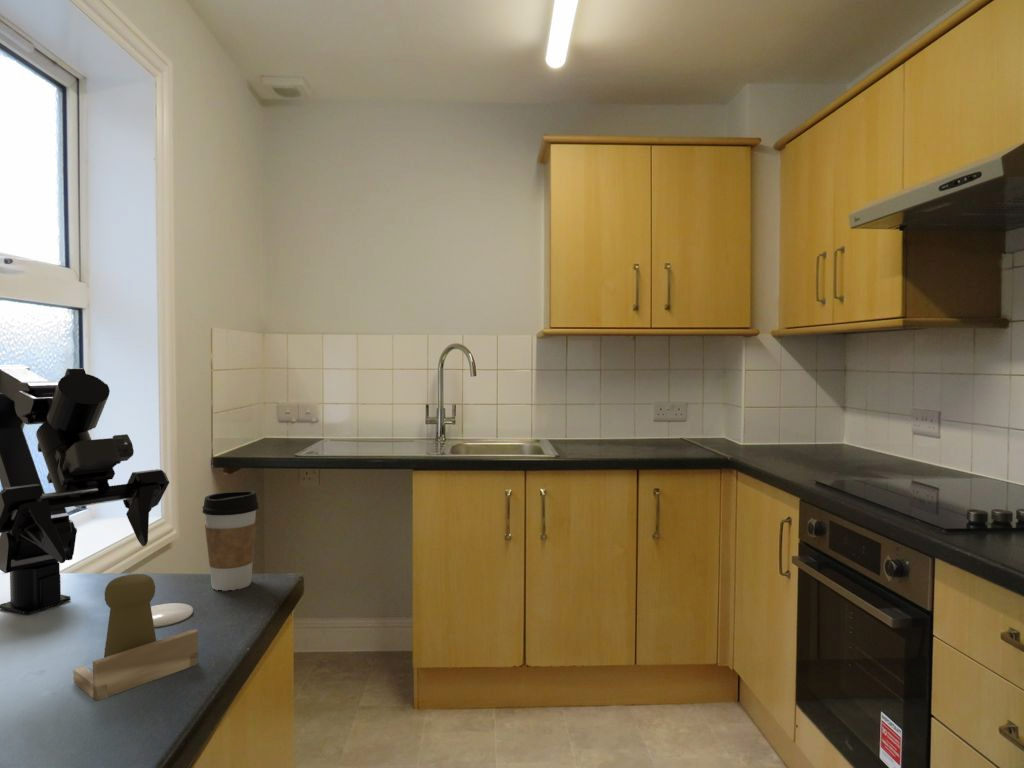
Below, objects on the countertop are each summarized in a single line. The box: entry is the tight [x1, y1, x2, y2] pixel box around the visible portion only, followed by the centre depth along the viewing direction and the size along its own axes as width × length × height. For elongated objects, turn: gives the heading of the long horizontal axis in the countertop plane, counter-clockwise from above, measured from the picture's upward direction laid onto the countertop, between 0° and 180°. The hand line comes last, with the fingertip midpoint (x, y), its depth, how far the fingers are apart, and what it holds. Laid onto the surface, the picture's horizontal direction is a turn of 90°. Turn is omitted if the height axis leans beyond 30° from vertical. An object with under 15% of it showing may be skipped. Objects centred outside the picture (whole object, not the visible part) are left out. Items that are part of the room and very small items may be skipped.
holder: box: [73, 628, 199, 702], centre depth 77 cm, size 6×11×4 cm, turn 142°
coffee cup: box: [202, 490, 259, 592], centre depth 107 cm, size 8×8×15 cm
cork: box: [103, 573, 157, 658], centre depth 78 cm, size 6×6×11 cm
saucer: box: [151, 602, 194, 628], centre depth 94 cm, size 8×8×1 cm
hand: (106, 552), depth 82 cm, fingers open, 9 cm apart
